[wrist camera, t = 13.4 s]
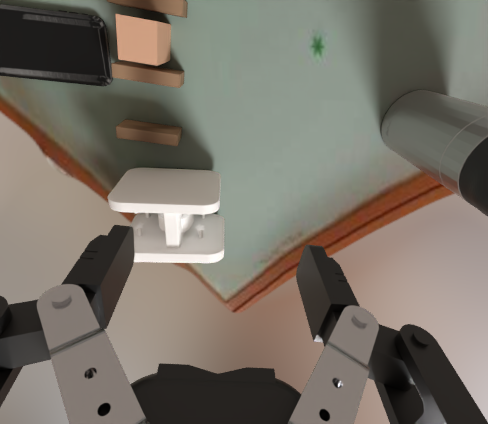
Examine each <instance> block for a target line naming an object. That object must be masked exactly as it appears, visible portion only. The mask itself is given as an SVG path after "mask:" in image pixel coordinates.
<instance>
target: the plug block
mask: <svg viewBox="0 0 488 424" xmlns="http://www.w3.org/2000/svg"><path fill="white" fill-rule="evenodd" d="M116 29H117V46H118V59H120V60H126V61H132V62H138V63H144V64H150V65H156V66H158V65H160V64H163V63H165V62H168V61H170V43H171V24H166V23H162V22H157V21H152V20H147V19H141V18H136V17H130V16H125V15H119V14H116Z"/></svg>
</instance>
